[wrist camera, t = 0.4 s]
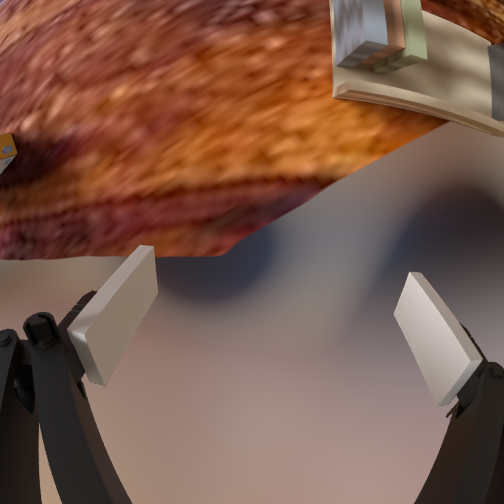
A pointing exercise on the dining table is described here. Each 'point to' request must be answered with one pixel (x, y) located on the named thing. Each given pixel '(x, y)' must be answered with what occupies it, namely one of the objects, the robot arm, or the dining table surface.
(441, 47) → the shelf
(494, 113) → the bookend
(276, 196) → the dining table surface
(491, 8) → the dining table surface
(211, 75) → the dining table surface
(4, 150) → the game box
